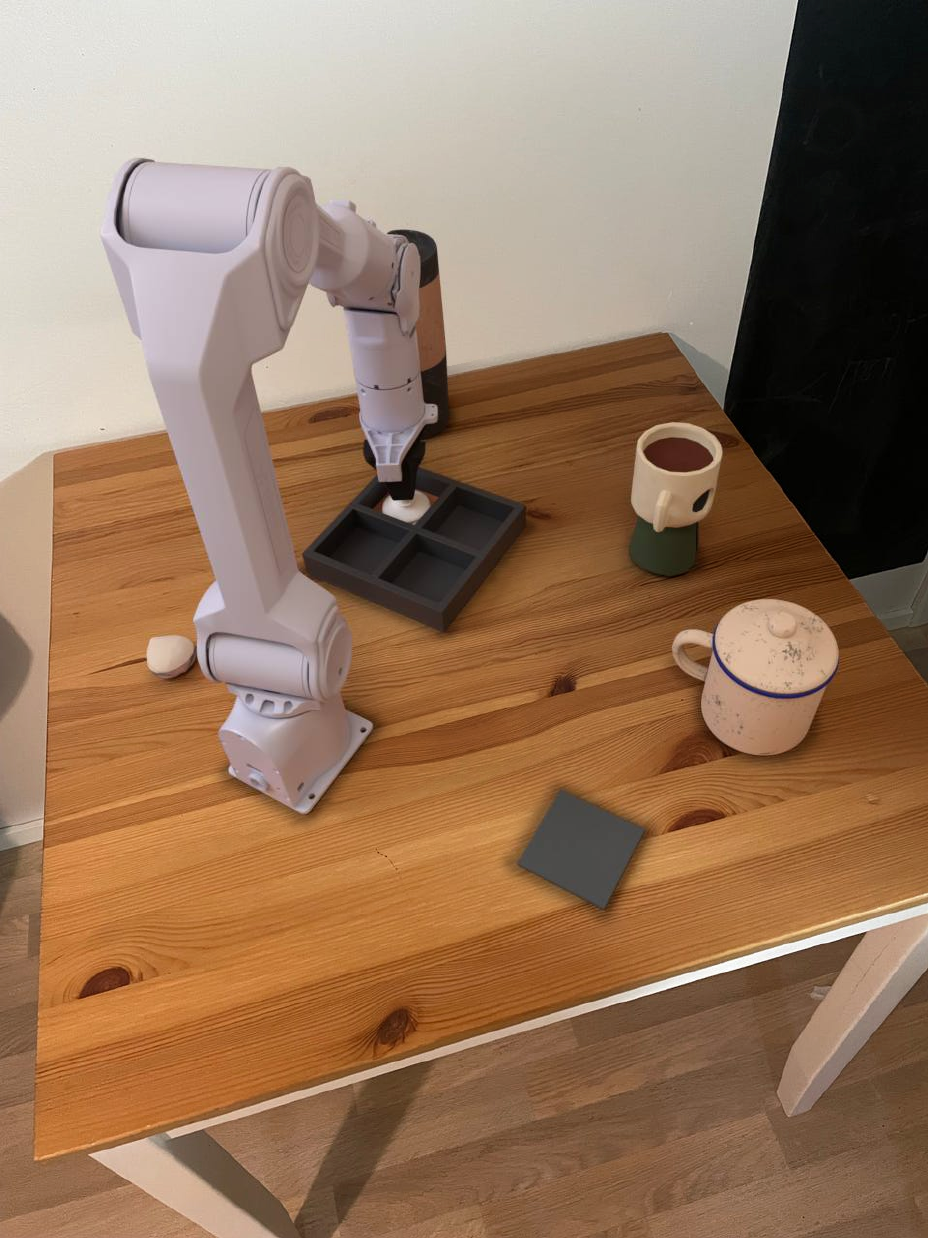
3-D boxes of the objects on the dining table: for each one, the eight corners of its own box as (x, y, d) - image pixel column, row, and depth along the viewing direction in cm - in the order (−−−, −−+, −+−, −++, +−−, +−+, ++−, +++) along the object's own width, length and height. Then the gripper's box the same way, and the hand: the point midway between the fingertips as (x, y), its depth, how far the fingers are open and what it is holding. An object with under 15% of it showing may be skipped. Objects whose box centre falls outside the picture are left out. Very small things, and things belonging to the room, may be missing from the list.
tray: (444, 632, 82) (442, 612, 80) (307, 573, 88) (301, 553, 86) (526, 526, 91) (526, 504, 88) (395, 478, 96) (392, 457, 94)
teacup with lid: (824, 689, 76) (862, 596, 67) (797, 777, 71) (834, 688, 62) (683, 643, 80) (701, 549, 71) (647, 723, 75) (663, 632, 66)
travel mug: (445, 443, 99) (429, 270, 84) (376, 439, 101) (348, 267, 85) (456, 400, 104) (444, 229, 89) (390, 397, 105) (367, 227, 90)
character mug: (686, 606, 83) (708, 499, 73) (609, 587, 85) (620, 480, 75) (712, 526, 89) (735, 417, 79) (640, 510, 91) (653, 401, 81)
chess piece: (434, 494, 94) (425, 414, 86) (428, 528, 90) (418, 447, 83) (386, 493, 94) (373, 413, 86) (378, 527, 91) (364, 446, 83)
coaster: (604, 910, 65) (604, 908, 65) (517, 865, 68) (517, 863, 67) (644, 831, 69) (645, 829, 69) (560, 791, 71) (560, 789, 71)
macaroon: (168, 691, 80) (159, 674, 78) (135, 661, 82) (126, 644, 80) (208, 661, 82) (200, 643, 80) (175, 633, 84) (166, 615, 82)
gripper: (430, 421, 75) (442, 540, 85) (436, 321, 84) (446, 440, 94) (343, 424, 75) (366, 542, 85) (359, 325, 84) (378, 442, 95)
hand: (403, 489), depth 90 cm, fingers closed on chess piece
